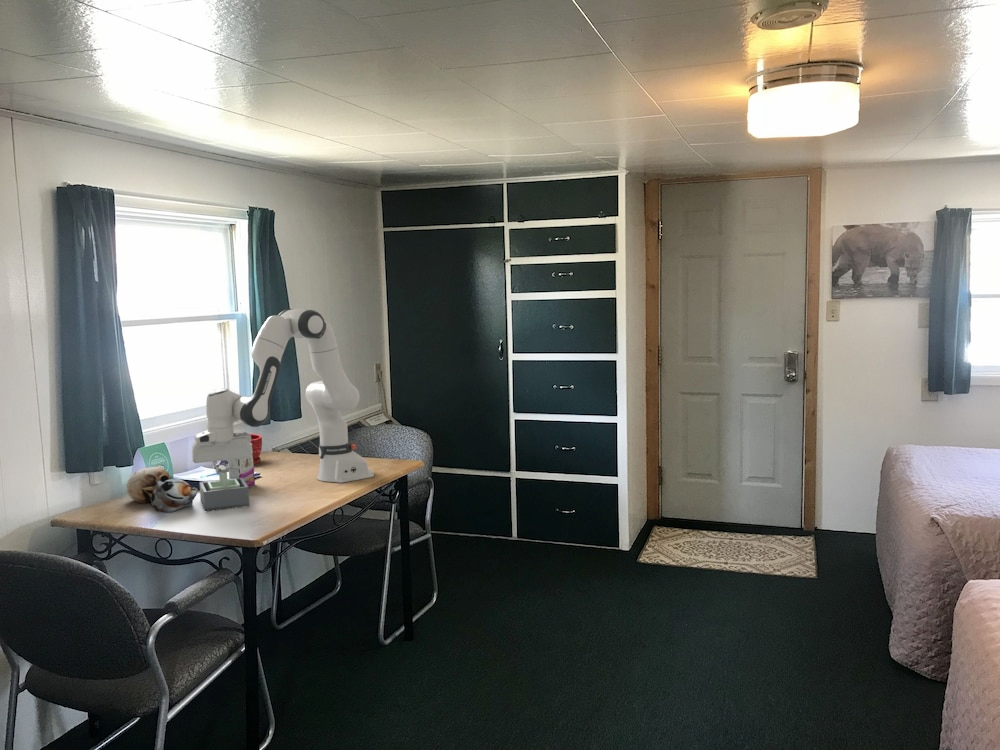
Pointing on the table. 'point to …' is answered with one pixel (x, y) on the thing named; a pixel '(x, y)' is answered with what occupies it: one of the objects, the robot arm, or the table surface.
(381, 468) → the table surface
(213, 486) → the small crate
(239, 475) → the candy bar box
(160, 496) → the lucky cat figurine
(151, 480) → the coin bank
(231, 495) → the large crate
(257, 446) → the plant pot
